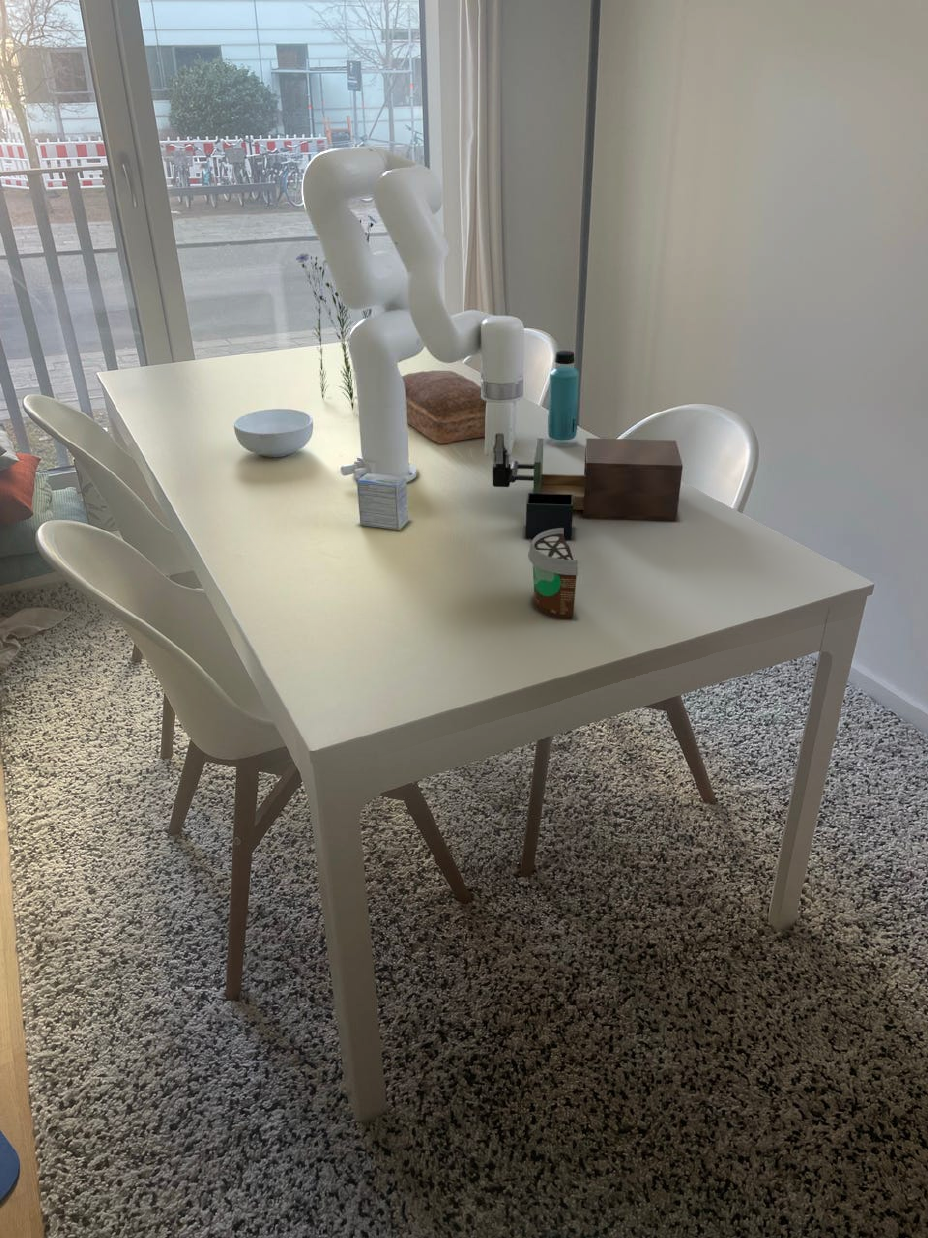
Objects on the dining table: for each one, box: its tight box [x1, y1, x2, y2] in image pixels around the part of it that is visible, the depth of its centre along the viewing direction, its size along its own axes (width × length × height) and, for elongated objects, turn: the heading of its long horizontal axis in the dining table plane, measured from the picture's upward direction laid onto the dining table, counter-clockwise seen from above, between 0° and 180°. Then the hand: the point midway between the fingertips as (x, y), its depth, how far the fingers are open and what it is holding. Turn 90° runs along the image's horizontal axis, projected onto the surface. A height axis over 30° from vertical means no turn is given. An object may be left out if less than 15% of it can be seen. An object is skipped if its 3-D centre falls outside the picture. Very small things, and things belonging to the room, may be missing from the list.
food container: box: [527, 528, 579, 620], centre depth 135 cm, size 12×6×10 cm, turn 5°
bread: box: [401, 370, 487, 444], centre depth 212 cm, size 17×29×11 cm, turn 26°
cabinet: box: [582, 437, 684, 522], centre depth 168 cm, size 17×14×11 cm
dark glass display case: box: [524, 492, 574, 541], centre depth 158 cm, size 8×5×6 cm, turn 84°
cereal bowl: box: [233, 408, 314, 458], centre depth 197 cm, size 17×17×7 cm
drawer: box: [509, 437, 586, 511], centre depth 169 cm, size 22×13×10 cm, turn 84°
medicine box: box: [356, 473, 409, 531], centre depth 162 cm, size 8×4×9 cm, turn 71°
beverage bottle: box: [547, 350, 580, 441], centre depth 197 cm, size 6×7×20 cm
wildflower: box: [295, 214, 378, 411], centre depth 219 cm, size 22×23×45 cm
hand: (501, 485), depth 171 cm, fingers closed
